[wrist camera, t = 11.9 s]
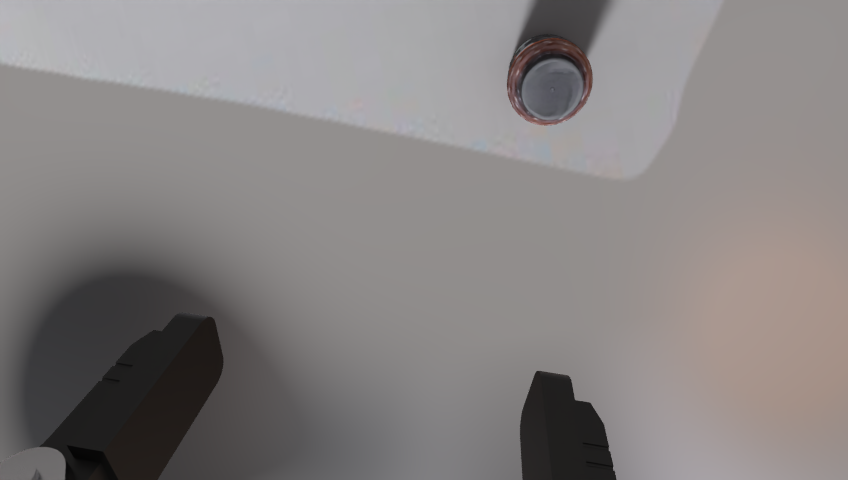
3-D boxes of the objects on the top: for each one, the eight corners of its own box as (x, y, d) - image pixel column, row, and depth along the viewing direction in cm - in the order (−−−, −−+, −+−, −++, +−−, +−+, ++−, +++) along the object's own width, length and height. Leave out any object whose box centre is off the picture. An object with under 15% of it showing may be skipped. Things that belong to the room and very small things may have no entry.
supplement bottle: (501, 46, 40) (496, 55, 30) (571, 24, 38) (592, 25, 28) (516, 114, 42) (516, 144, 32) (583, 95, 40) (607, 121, 30)
